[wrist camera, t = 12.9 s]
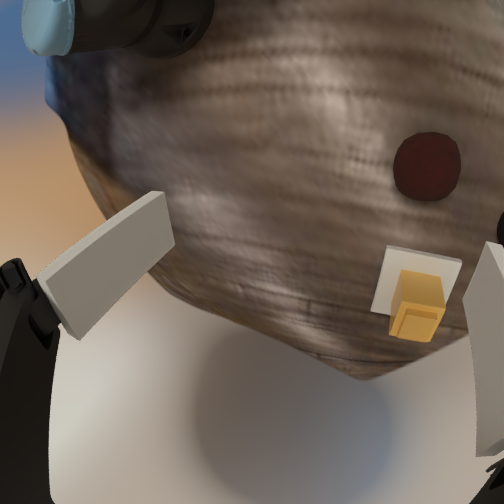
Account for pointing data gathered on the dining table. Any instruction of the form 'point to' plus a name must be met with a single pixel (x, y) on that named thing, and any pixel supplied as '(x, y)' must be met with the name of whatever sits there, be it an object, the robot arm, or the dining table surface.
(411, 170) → the potato
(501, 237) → the wine bottle
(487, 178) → the dining table surface
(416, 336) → the orange block
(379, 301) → the post plate
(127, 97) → the dining table surface
